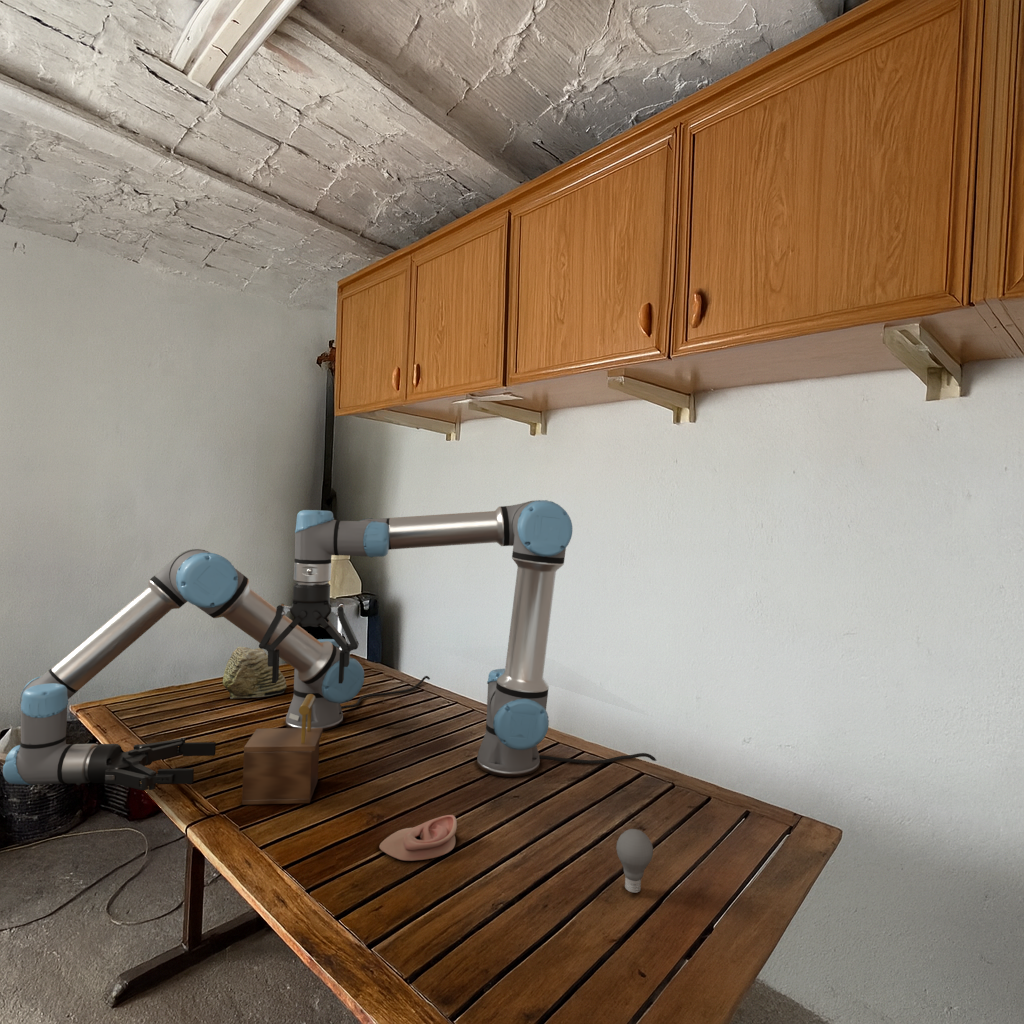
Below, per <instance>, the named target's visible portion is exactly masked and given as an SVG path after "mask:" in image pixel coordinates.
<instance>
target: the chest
mask: <svg viewBox="0 0 1024 1024" xmlns="http://www.w3.org/2000/svg"><path fill="white" fill-rule="evenodd" d="M319 760H320V741H319V742H318V745H317V747H316V750H315V751H285V752H244V751H243V767H242V789H241V790H242V794H241V805H242V806H244V805H245V806H246V805H247V806H248V805H289V804H291V805H292V804H310V803H311V802H312V798H313V795H314V793H315V789H316V787H317V784H318V781H319V763H320V762H319Z"/></svg>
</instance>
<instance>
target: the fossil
mask: <svg viewBox="0 0 1024 1024" xmlns="http://www.w3.org/2000/svg"><path fill="white" fill-rule="evenodd" d="M272 668H273V667H268V653H266V652H265V649H260V648H259V647H258V648H251V647H247V646H246V647H245V646H238V647H237V648H236V649H235V650H233V651H232V653H231V656H230V657H229V659H228V660H227V663H226V666H225V668H224V671H223V675H222V676H223V677H222V685H223V687H224V688H225V690H226V691H228V693H229V698H230V699H250V698H264V697H271V696H275V695H281V694H284V693H285V691H286V689H287V687H288V686H287V680H286V678H285V676H284V674H283V673H282V672H281V669H279V680H278V681H277V682H276V683H272Z"/></svg>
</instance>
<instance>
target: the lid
mask: <svg viewBox="0 0 1024 1024" xmlns="http://www.w3.org/2000/svg"><path fill="white" fill-rule="evenodd" d="M314 701H315V696H314V695H313V694H308V695H307V696H306V698H305V699H304V701H303V703H302V705H301V706H300V708H299V713H300V714H301V715H302V728H288V727H286V728H283V727H282V728H281V727H280V728H278V727H276V728H274V727H273V728H272V727H270V728H269V727H268V728H256V729H255V731H254V732H253V734H252V735H251V736H250V738H249V739H248V741H247V742H246V744H245V745H244V747H243V753H244V752H285V751H315V750H316V747H317V745H318V742H319V743H320V740H321V737H322V735H323V732H324V731H323V728H311V712H312V705H313V703H314ZM307 714H308V720H307V728H306V715H307Z"/></svg>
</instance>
